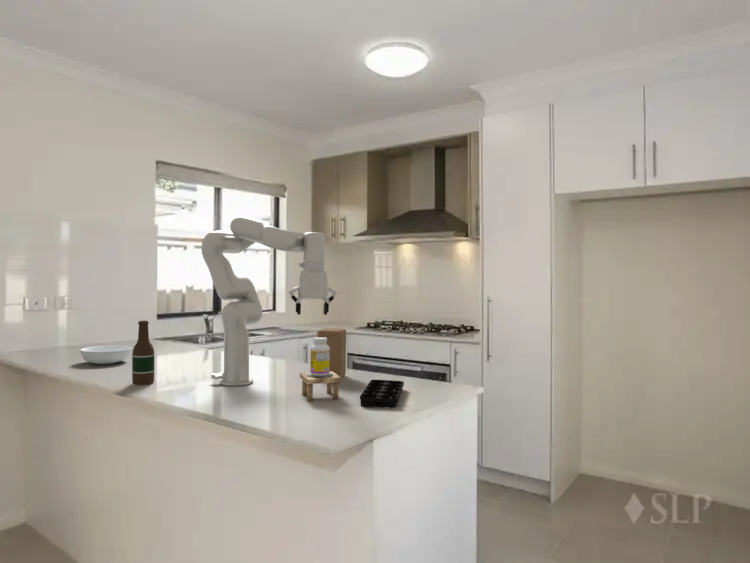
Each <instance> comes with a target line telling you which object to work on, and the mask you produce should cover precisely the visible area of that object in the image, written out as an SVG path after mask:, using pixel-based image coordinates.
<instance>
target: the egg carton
mask: <svg viewBox="0 0 750 563" xmlns="http://www.w3.org/2000/svg"><path fill="white" fill-rule="evenodd" d="M404 386H405V382H404V381H401V380H389V379H371V380H369V382H368V384H367V385H366V387H365V388H364V389H363V391H362V393H361V394H360V396H359V400H360V407H362V406H363V407H362V408H376V407H380V408H382V407H395V408H396V407H397V404H398V402H399V399H400V396H401V395H400V394H402V392H401V391H403V388H404ZM394 389H395V390H394Z"/></svg>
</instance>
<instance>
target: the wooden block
mask: <svg viewBox="0 0 750 563" xmlns="http://www.w3.org/2000/svg"><path fill="white" fill-rule="evenodd" d="M346 330H347V329H345V328H337V327H334V328H333V327H325V328H321V329H319V330H317V331H316V338H317V337H324V338H327V342H326V345H328V346H329V348H330V362H329V372H330V371H333V372H334V373H335V374H337V375H338V376H340V377H341V379H343V378H344V377H345V376H346V375H347V374H346V371H347V370H346V368H347V366H346V365H347V364H346V363H347V362H346V361H347V345H346V344H347V331H346Z"/></svg>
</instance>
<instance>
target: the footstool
mask: <svg viewBox="0 0 750 563" xmlns="http://www.w3.org/2000/svg"><path fill="white" fill-rule="evenodd" d="M299 378H300V379H301V385H302V387H301V388H302V389H301V396H307V400H306V401H307V402H313V400H314V397H313V396H314V395H313V394H314V390H313V389H314V385H315V384H316V385H318V384H326V394H328V395H329V394H332V393H333V394H332V399H333V400H339V383H342V378H341V377H340V376H338V375H337V374H335V373H334V372H333V371H330V372H329V374H328V375H326V376H313V375H311V373H310V372H300V373H299Z"/></svg>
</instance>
